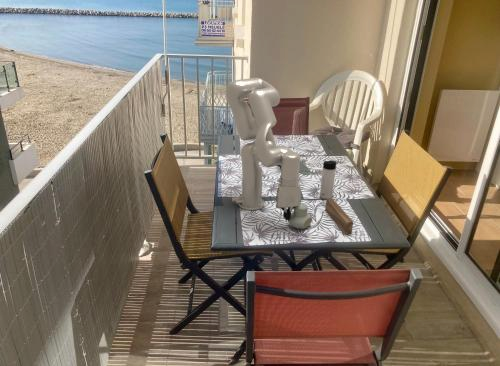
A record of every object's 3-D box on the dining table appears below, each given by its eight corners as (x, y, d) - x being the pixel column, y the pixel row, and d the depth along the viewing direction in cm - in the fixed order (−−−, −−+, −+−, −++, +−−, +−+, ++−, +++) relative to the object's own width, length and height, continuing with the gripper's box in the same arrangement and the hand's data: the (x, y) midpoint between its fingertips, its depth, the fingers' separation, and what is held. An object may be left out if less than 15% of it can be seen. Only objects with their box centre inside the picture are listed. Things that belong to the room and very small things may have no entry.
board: (345, 234, 179) (346, 222, 177) (325, 210, 199) (326, 198, 196) (351, 233, 180) (353, 221, 178) (331, 209, 199) (332, 198, 197)
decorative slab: (313, 160, 256) (313, 157, 255) (314, 176, 235) (315, 173, 234) (271, 158, 258) (271, 155, 258) (268, 173, 237) (268, 170, 236)
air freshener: (298, 217, 191) (299, 198, 187) (313, 223, 187) (315, 204, 182) (284, 226, 184) (286, 207, 179) (300, 233, 179) (302, 213, 175)
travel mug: (323, 201, 207) (327, 164, 198) (317, 195, 212) (321, 159, 204) (334, 200, 208) (339, 163, 200) (328, 194, 214) (333, 158, 205)
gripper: (274, 186, 169) (272, 224, 177) (309, 183, 172) (305, 221, 180) (269, 178, 176) (268, 216, 184) (303, 176, 179) (300, 213, 187)
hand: (286, 218), depth 182 cm, fingers closed
